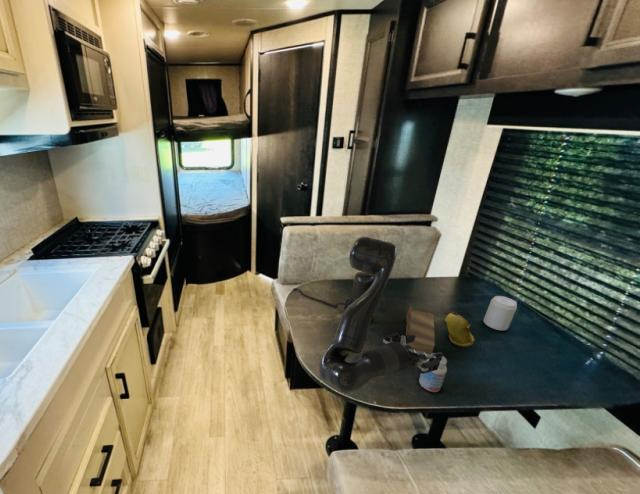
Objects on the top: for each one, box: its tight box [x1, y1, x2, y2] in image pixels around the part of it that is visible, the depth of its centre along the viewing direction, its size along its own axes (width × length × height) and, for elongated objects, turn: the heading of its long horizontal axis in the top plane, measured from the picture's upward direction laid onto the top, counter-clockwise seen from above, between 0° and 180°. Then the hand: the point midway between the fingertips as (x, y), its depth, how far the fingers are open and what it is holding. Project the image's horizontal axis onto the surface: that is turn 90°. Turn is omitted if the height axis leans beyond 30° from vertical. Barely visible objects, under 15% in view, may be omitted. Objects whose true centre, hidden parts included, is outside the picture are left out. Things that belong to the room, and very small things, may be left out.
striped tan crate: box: [404, 304, 436, 355], centre depth 120 cm, size 20×9×8 cm, turn 152°
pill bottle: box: [418, 352, 448, 393], centre depth 98 cm, size 6×6×11 cm
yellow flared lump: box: [444, 311, 476, 348], centre depth 115 cm, size 12×8×15 cm
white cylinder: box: [483, 295, 518, 332], centre depth 125 cm, size 8×8×12 cm
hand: (426, 346), depth 91 cm, fingers open, 8 cm apart
